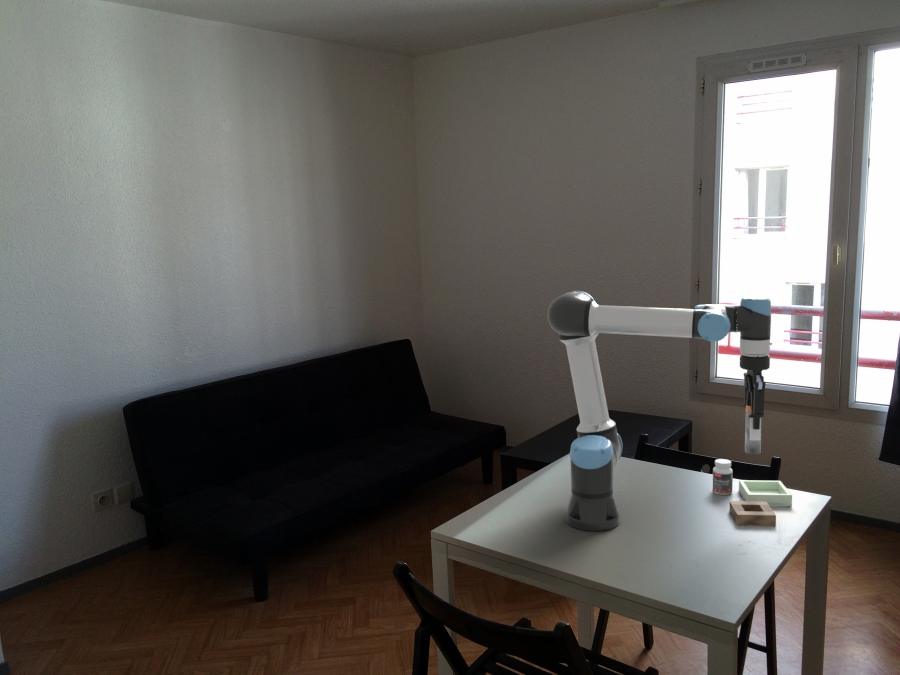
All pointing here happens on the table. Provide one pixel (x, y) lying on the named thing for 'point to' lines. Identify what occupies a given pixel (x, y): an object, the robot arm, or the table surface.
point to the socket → (752, 513)
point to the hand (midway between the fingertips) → (752, 437)
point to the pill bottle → (722, 477)
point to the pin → (750, 445)
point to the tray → (765, 492)
